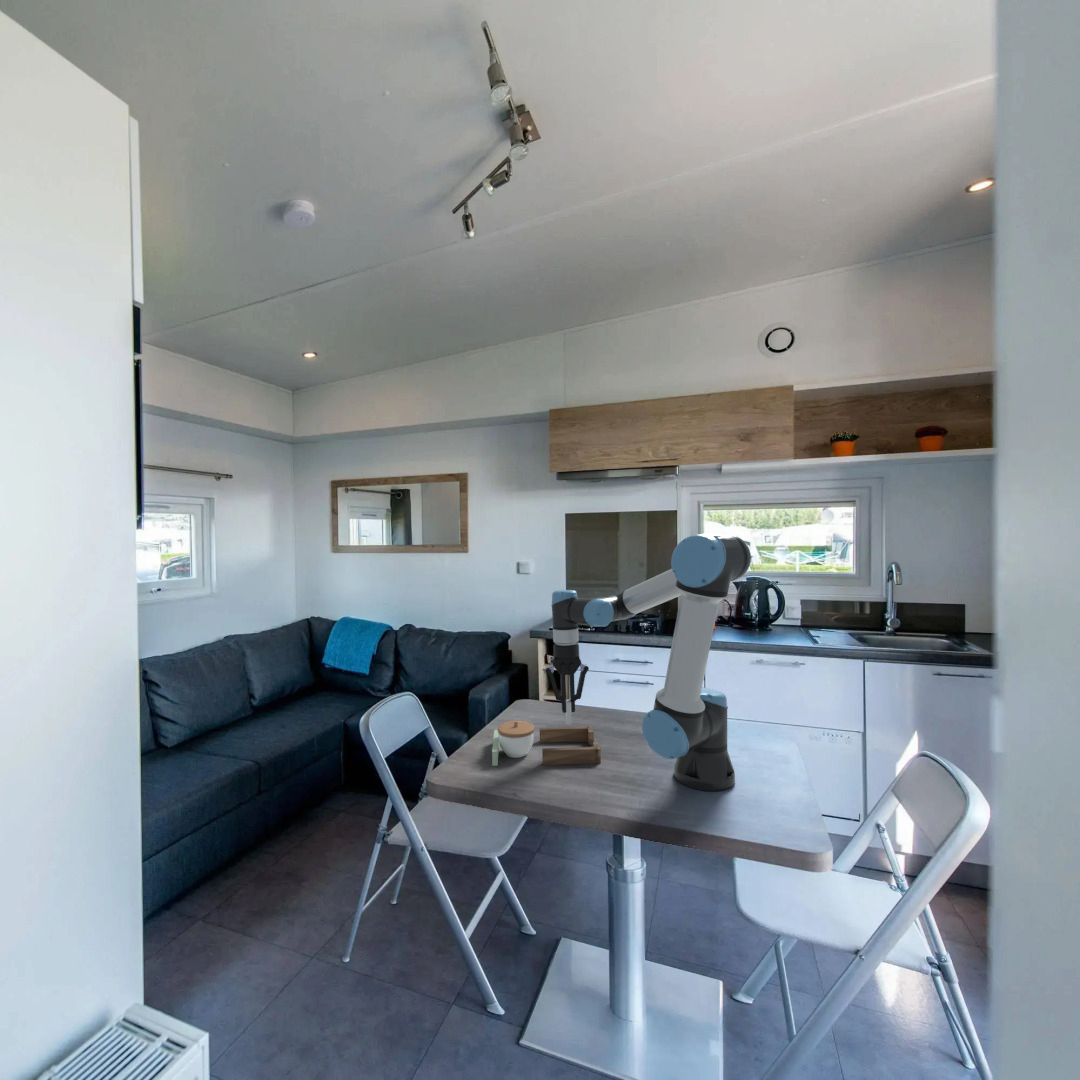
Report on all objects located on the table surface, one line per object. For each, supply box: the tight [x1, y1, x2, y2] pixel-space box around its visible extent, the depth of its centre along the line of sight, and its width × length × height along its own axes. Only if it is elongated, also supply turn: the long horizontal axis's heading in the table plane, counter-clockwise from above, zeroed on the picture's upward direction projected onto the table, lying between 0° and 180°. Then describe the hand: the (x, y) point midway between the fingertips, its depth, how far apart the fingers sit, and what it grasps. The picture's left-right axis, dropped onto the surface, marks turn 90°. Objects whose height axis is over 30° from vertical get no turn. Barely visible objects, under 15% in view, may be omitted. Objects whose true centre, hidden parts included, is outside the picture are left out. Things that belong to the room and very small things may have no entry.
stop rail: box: [491, 729, 500, 767], centre depth 152 cm, size 16×2×4 cm, turn 3°
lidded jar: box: [497, 720, 535, 759], centre depth 152 cm, size 11×11×9 cm
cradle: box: [539, 725, 602, 766], centre depth 153 cm, size 17×16×4 cm
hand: (568, 723), depth 152 cm, fingers closed
